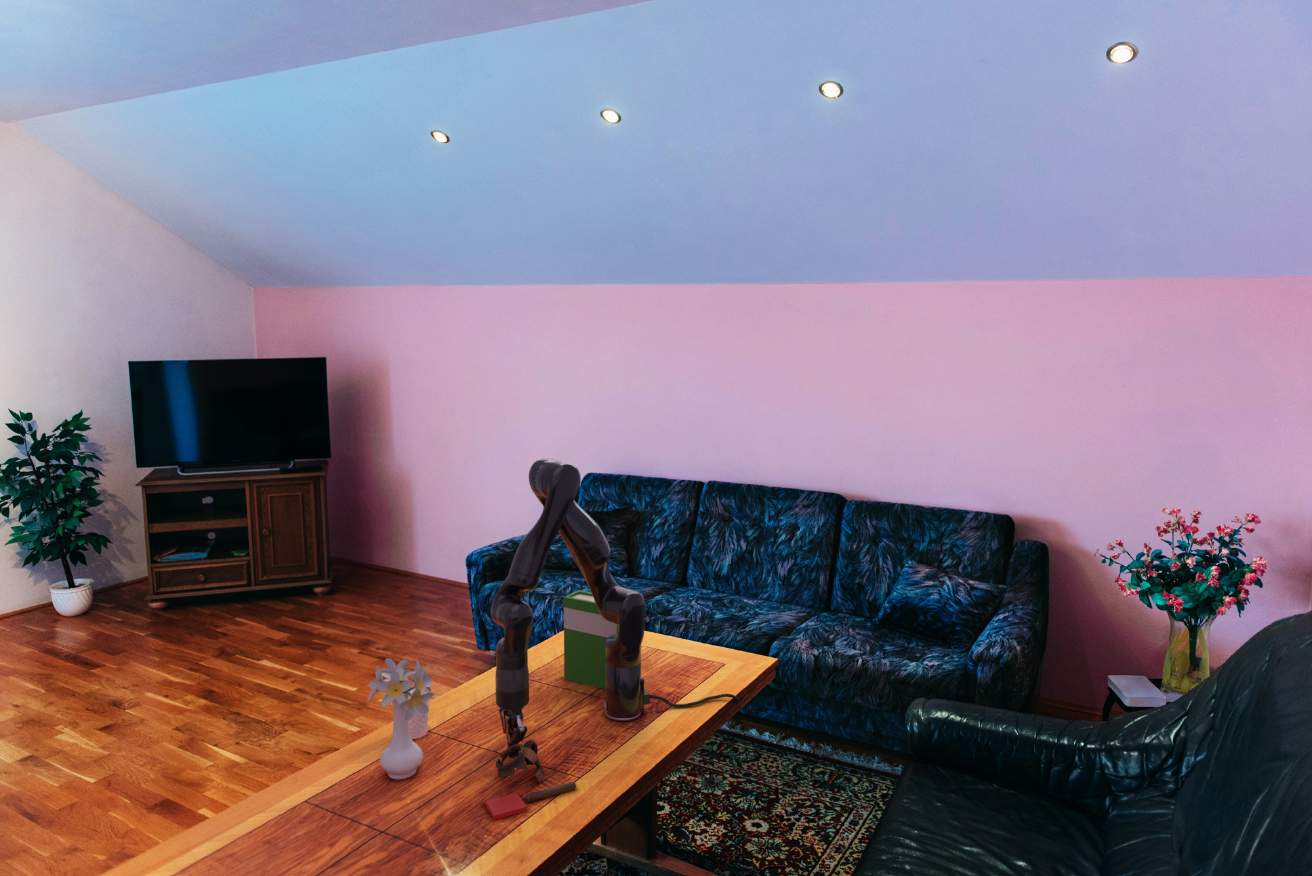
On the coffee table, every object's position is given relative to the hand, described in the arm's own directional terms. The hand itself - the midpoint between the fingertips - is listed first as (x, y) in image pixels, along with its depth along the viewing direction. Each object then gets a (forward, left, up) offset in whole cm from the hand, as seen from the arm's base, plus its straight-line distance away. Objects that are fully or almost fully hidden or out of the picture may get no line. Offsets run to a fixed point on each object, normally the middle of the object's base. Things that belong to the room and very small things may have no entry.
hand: (513, 755), depth 192 cm
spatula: (+2, +17, -1) cm, 18 cm away
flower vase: (+23, -7, -2) cm, 24 cm away
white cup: (+17, -24, -2) cm, 30 cm away
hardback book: (-36, -31, -2) cm, 48 cm away
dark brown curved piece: (0, +7, -2) cm, 7 cm away
